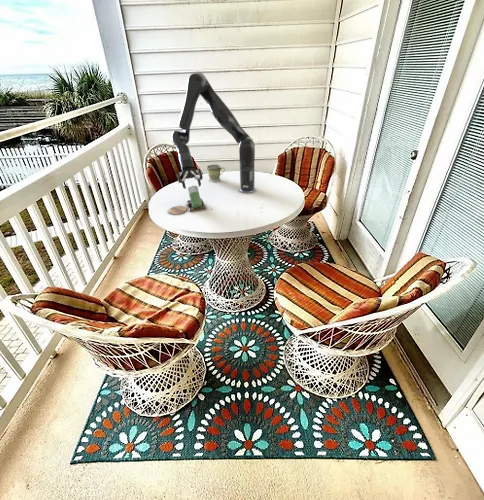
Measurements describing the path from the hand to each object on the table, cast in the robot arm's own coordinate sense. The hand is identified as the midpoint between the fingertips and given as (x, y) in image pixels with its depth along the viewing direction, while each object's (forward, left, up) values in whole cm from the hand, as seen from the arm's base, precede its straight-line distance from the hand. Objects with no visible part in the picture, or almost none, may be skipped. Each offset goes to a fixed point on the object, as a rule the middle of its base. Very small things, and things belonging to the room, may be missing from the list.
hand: (192, 187), depth 159 cm
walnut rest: (+3, +3, -11) cm, 12 cm away
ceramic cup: (-41, -5, -11) cm, 43 cm away
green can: (+3, +3, -5) cm, 6 cm away
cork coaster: (+11, -5, -11) cm, 16 cm away
